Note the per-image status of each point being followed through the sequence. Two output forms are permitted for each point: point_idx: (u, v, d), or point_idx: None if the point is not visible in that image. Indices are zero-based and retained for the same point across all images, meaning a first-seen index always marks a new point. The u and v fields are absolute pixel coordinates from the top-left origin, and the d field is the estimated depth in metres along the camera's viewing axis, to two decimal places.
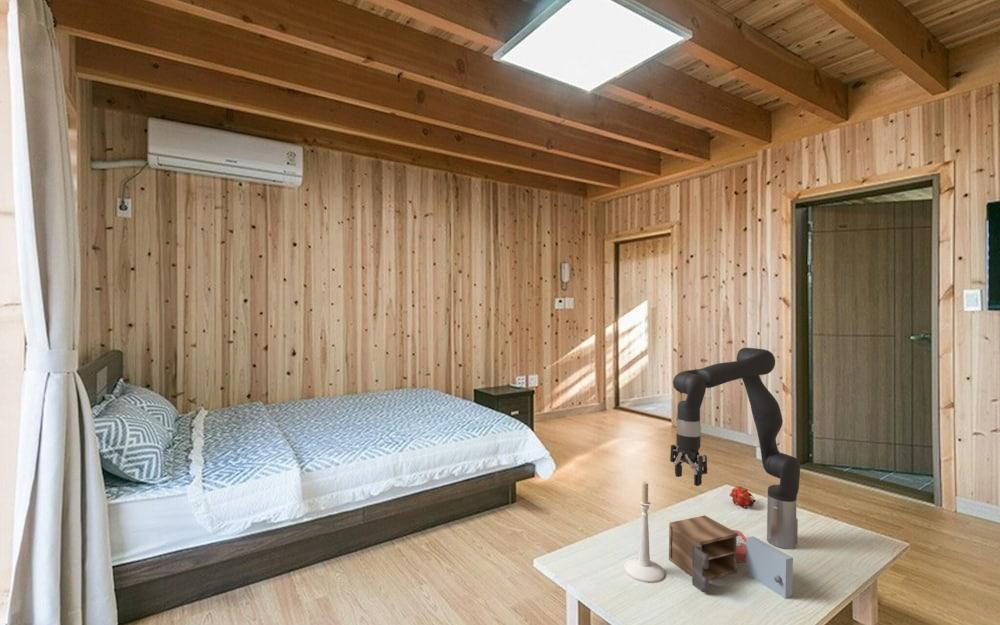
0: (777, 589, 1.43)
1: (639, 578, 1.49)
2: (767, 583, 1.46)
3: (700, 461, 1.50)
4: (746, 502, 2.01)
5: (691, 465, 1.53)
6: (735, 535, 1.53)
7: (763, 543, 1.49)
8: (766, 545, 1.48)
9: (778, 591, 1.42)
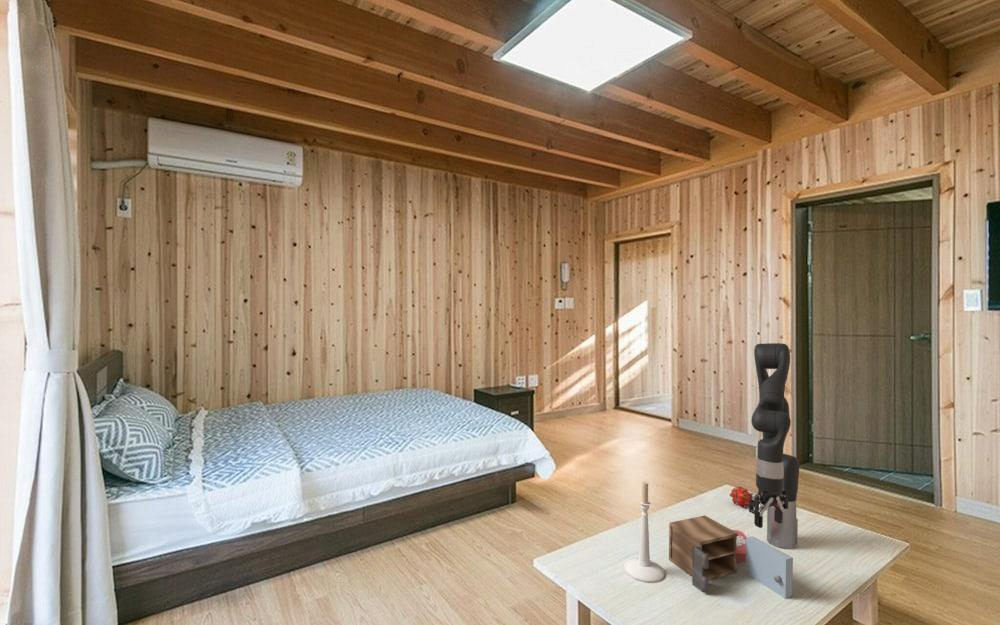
0: (777, 589, 1.43)
1: (639, 578, 1.49)
2: (767, 583, 1.46)
3: (787, 495, 1.48)
4: (746, 502, 2.01)
5: (781, 505, 1.47)
6: (735, 535, 1.53)
7: (763, 543, 1.49)
8: (766, 545, 1.48)
9: (778, 591, 1.42)
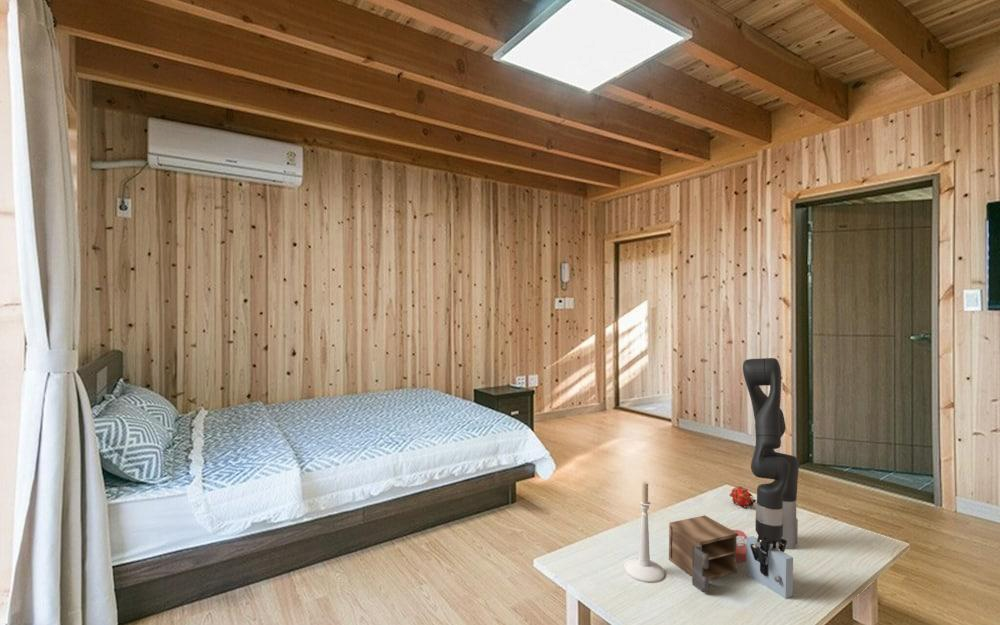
0: (777, 589, 1.43)
1: (639, 578, 1.49)
2: (767, 583, 1.46)
3: (785, 545, 1.48)
4: (746, 502, 2.01)
5: None
6: (735, 535, 1.53)
7: None
8: None
9: (778, 591, 1.42)
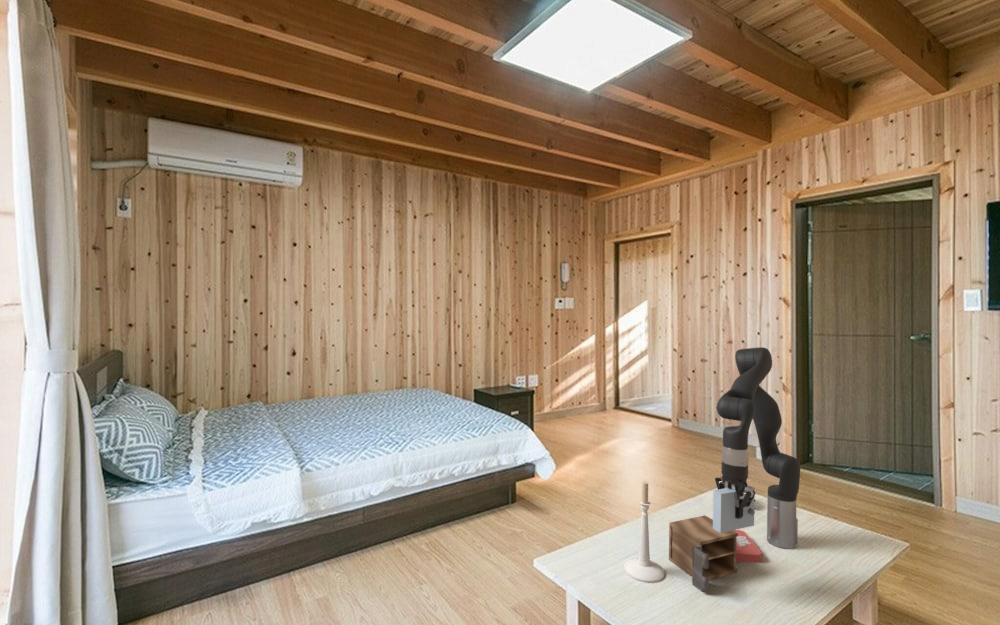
0: (748, 522, 1.47)
1: (639, 578, 1.49)
2: (740, 524, 1.45)
3: None
4: None
5: None
6: (735, 535, 1.53)
7: (727, 489, 1.46)
8: (730, 489, 1.46)
9: (748, 523, 1.47)
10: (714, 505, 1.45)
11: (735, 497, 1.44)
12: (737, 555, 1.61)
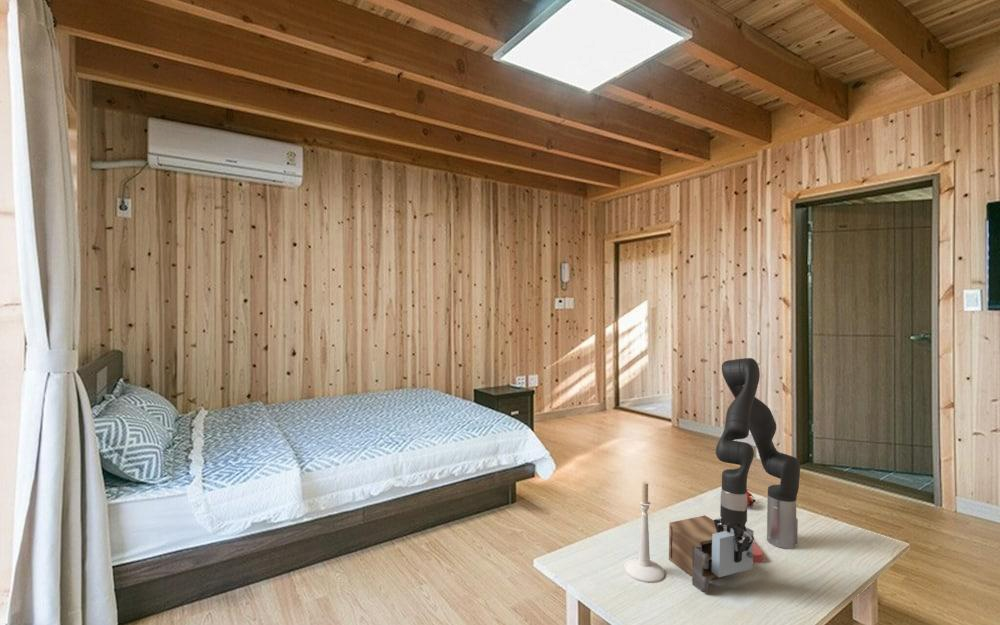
0: (746, 565, 1.47)
1: (639, 578, 1.49)
2: (738, 568, 1.46)
3: None
4: None
5: None
6: None
7: (726, 532, 1.46)
8: (728, 532, 1.47)
9: (747, 566, 1.47)
10: (713, 549, 1.45)
11: (734, 541, 1.44)
12: None
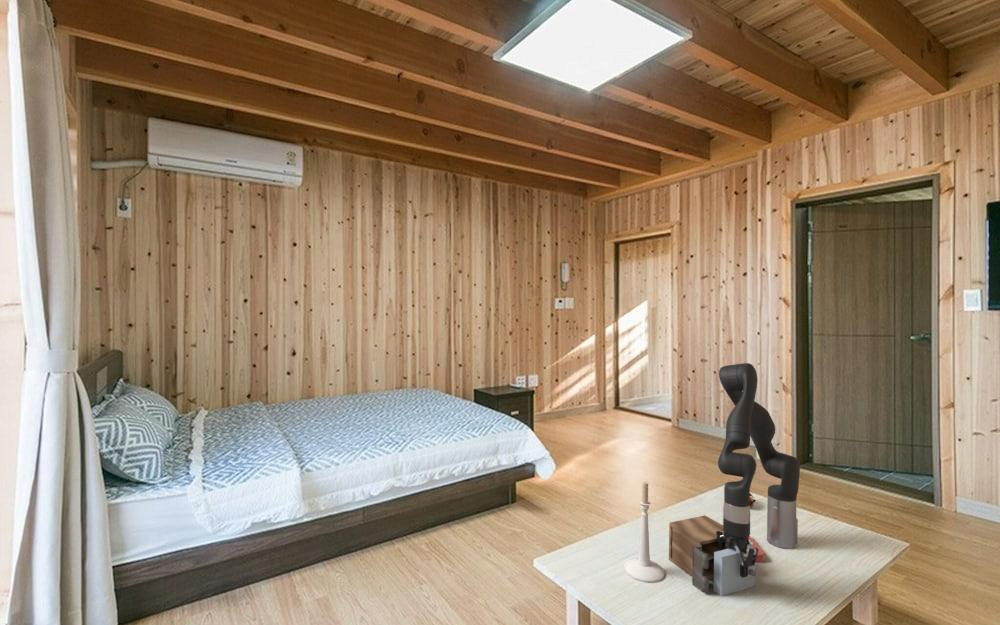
0: (748, 583, 1.46)
1: (639, 578, 1.49)
2: (740, 586, 1.44)
3: None
4: None
5: None
6: None
7: (728, 550, 1.45)
8: (730, 550, 1.45)
9: (749, 584, 1.46)
10: (715, 567, 1.44)
11: (739, 555, 1.42)
12: None
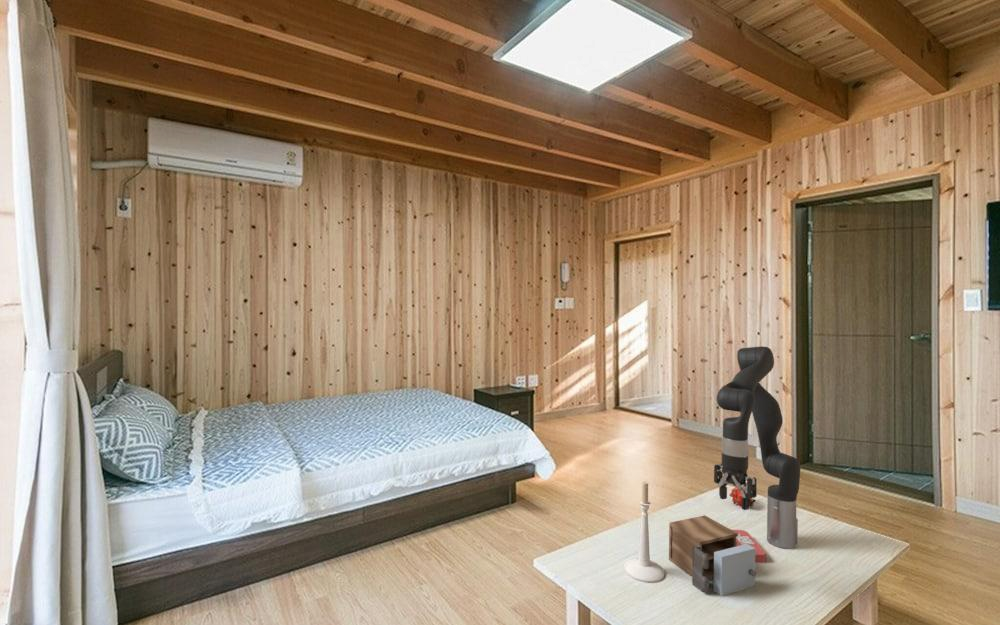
0: (748, 583, 1.46)
1: (639, 578, 1.49)
2: (740, 586, 1.44)
3: None
4: None
5: None
6: (735, 535, 1.53)
7: (728, 550, 1.45)
8: (730, 550, 1.45)
9: (749, 584, 1.46)
10: (715, 567, 1.44)
11: (739, 488, 1.42)
12: None
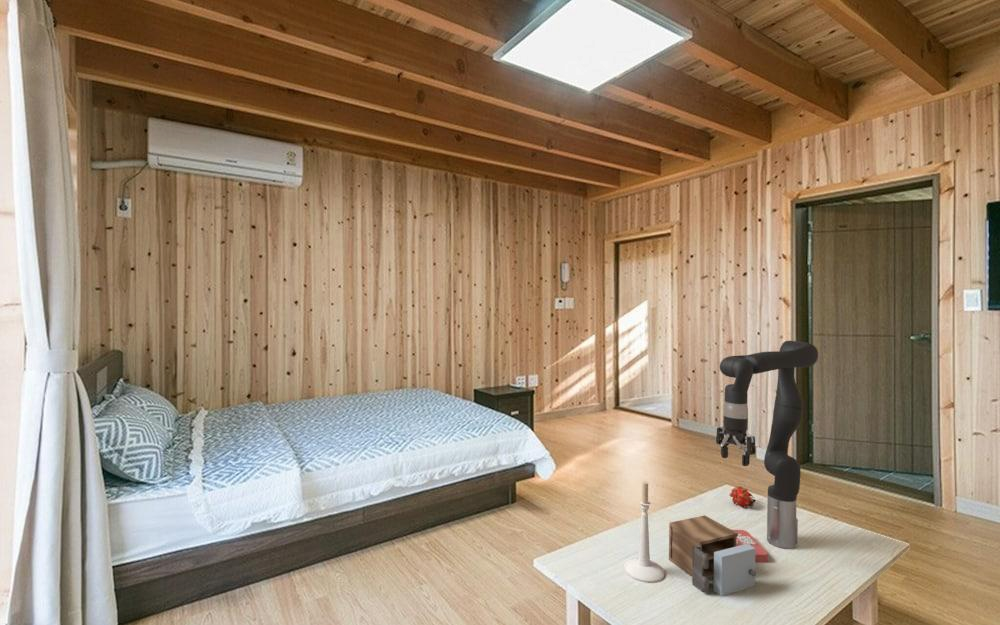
0: (748, 583, 1.46)
1: (639, 578, 1.49)
2: (740, 586, 1.44)
3: None
4: (746, 502, 2.01)
5: None
6: (735, 535, 1.53)
7: (728, 550, 1.45)
8: (730, 550, 1.45)
9: (749, 584, 1.46)
10: (715, 567, 1.44)
11: (739, 446, 1.58)
12: None
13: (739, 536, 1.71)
